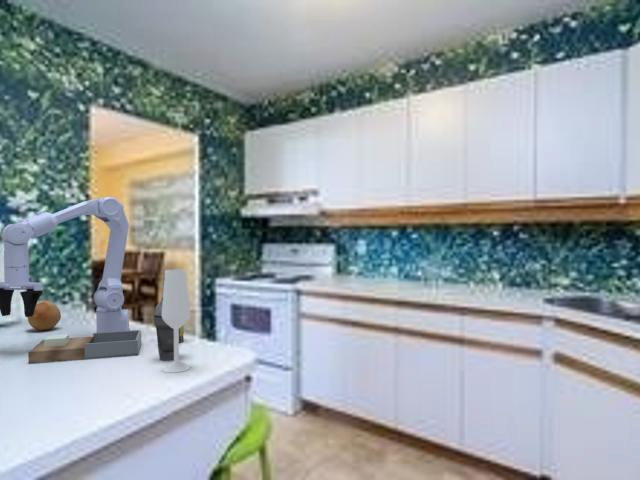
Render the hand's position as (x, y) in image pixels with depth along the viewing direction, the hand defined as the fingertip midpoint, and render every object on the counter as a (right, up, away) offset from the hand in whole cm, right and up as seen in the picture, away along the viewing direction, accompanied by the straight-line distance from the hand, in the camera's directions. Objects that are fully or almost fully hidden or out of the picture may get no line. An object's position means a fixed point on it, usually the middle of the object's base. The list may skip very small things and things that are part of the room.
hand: (17, 315), depth 130 cm
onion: (-10, -10, +30) cm, 33 cm away
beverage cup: (+44, -10, -6) cm, 46 cm away
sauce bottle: (+39, -10, +12) cm, 42 cm away
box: (+26, -10, +2) cm, 28 cm away
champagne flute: (+49, -11, -15) cm, 52 cm away
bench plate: (+14, -10, -2) cm, 17 cm away
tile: (+12, -7, -3) cm, 15 cm away
